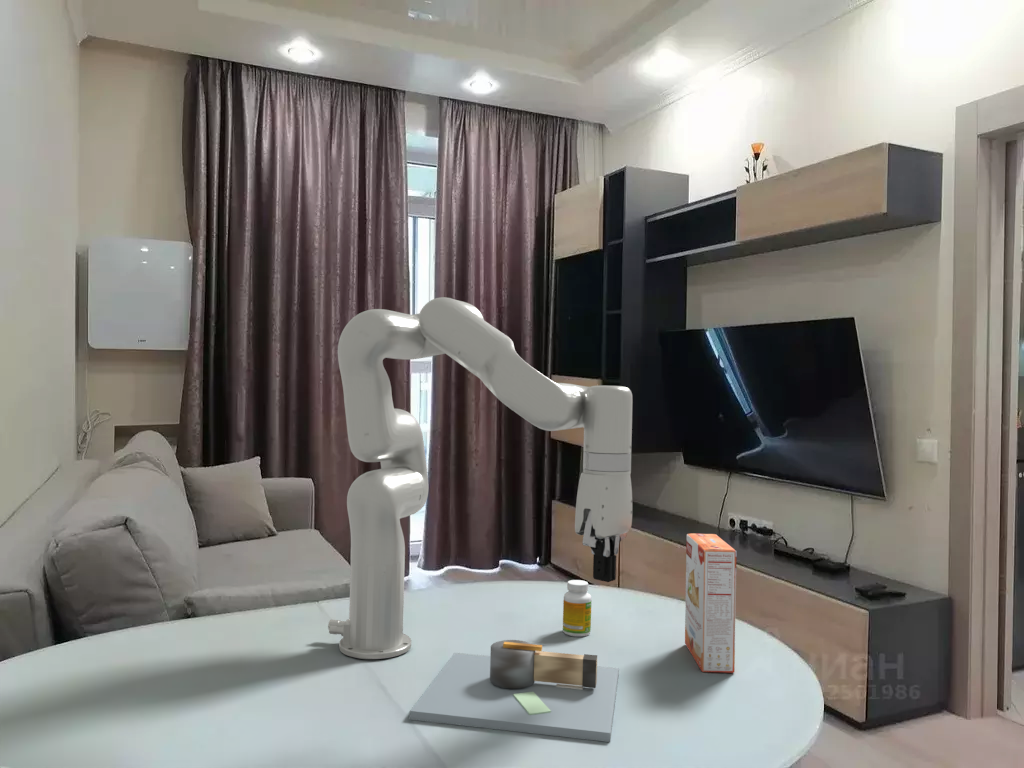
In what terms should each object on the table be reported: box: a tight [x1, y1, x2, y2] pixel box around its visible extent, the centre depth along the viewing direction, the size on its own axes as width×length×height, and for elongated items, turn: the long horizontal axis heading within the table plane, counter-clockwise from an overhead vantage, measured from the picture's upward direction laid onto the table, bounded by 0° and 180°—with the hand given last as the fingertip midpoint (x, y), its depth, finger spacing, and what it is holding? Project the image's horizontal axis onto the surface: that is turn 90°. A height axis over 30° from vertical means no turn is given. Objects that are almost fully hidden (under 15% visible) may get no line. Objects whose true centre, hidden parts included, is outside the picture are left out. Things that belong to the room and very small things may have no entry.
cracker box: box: [684, 532, 738, 674], centre depth 134 cm, size 14×6×21 cm, turn 179°
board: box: [409, 652, 620, 743], centre depth 115 cm, size 28×24×1 cm
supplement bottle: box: [562, 579, 592, 638], centre depth 146 cm, size 5×5×10 cm
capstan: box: [489, 639, 598, 689], centre depth 117 cm, size 16×7×6 cm, turn 79°
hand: (604, 579), depth 119 cm, fingers closed
